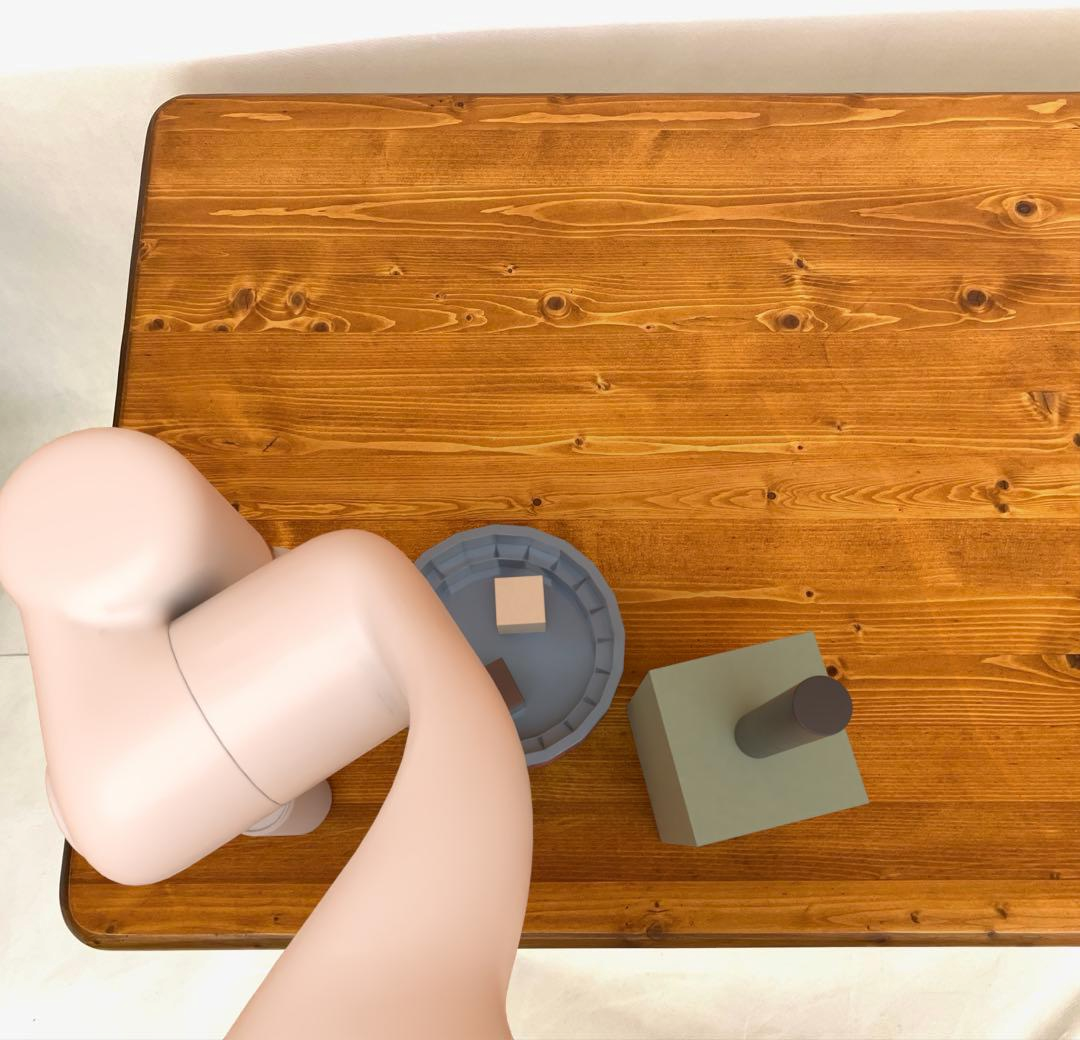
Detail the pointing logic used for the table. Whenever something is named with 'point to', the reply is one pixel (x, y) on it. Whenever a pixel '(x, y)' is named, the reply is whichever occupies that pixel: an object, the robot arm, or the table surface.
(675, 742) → the stand
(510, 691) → the walnut block
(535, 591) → the cream block
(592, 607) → the bowl
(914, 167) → the table surface
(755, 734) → the stirring stick
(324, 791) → the beverage can
